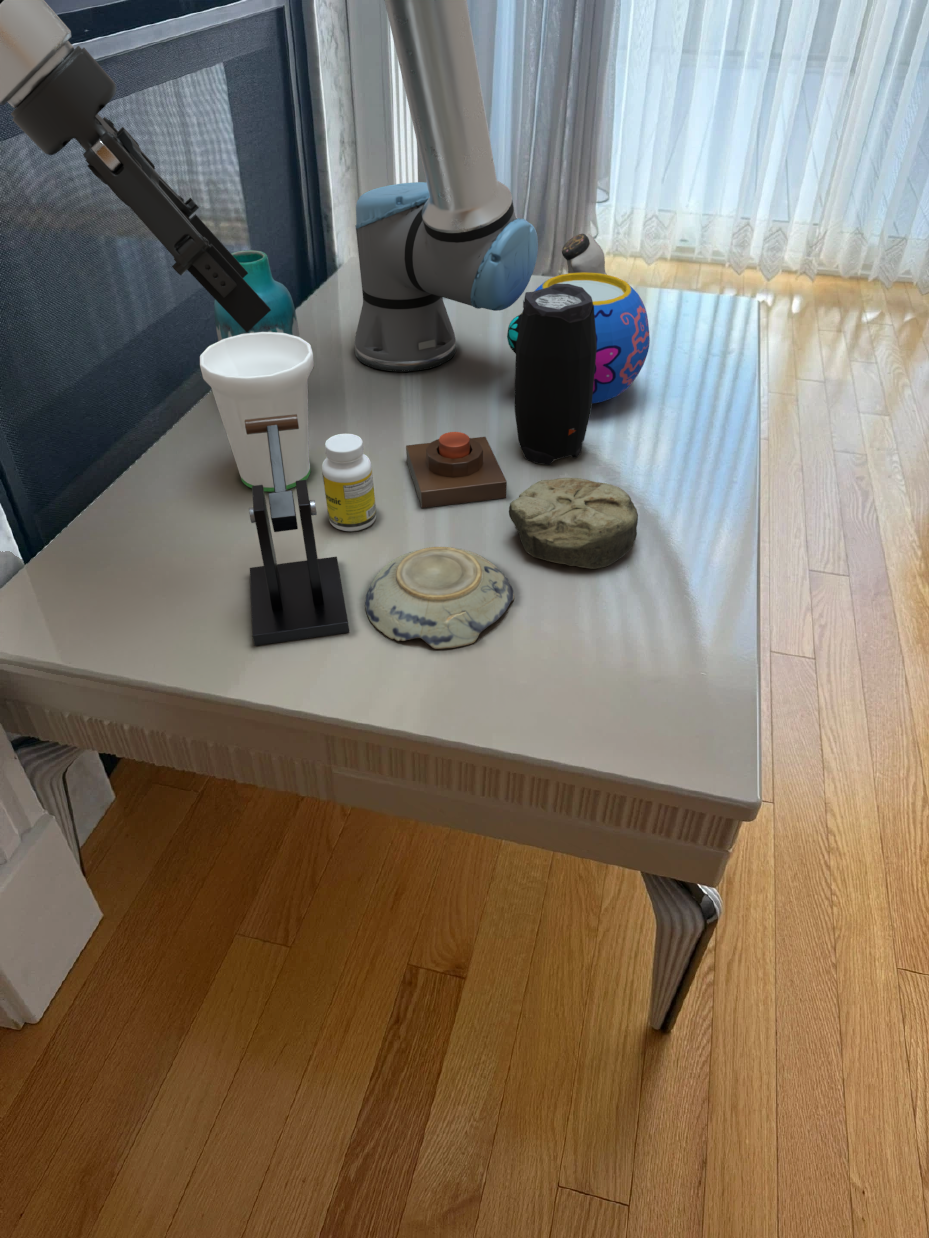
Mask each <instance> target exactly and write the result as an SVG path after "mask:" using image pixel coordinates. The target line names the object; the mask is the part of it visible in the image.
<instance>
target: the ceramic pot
mask: <svg viewBox="0 0 929 1238" xmlns="http://www.w3.org/2000/svg"><path fill="white" fill-rule="evenodd" d="M606 274H607V273H606ZM606 274H600V273H586V272H581V273H568V272H567V273H562V274H559V275H555V276H553V277H550V278H548V279H547V280H546V279H545V281H544V282H542V283H541V284H540V285H539V286H538V287H536V289H535V290H534V291H537V290H540V289H544V288H547V287H550V286H552V285H554V284H571V285H575V286H578V287H582V288H583V289H584V290H585V291H586V292H587V293H588V294H589V295H590V296H591V297H592V301H593V305H594V315H595V328H596V342H597V352H596V363H595V374H594V385H593V396H592V405H593V404H597V403H603V402H605V401H608V400H611V399H613V398H617V397H619V396H620V395H621V394H623V393H624V392H625V391H627V390H628V388H629V387H631V385H632V384H633V383H634V381H635V380H636V378H637V377H638V376H639V373H640V372H641V370H642V369H643V367H644V364H645V362H646V359H647V356H648V353H649V350H650V342H651V341H650V340H651V338H650V325H649V319H648V318H649V317H648V313H647V309H646V307H645V304H644V301H643V299H642V298H641V296H640V295H639V293H638V292H637V291H636V289H634V288H633V286H632V285H630V284H629V283H628V282H627V281H625V280H623V279H621V278H620V277H617V276H614V275H609V274H607V275H606ZM522 313H523V310H522V312H521V313H520V314H518V315H517V316H515V317H513V319H511V321H510V323H509V324H508V327H507V334H506V337H507V338H506V339H507V343H508V346H509V348H510V349H511V351H512V352H513V353H514V354H515V355H516V341H517V336H518V332H519V327H520V323H521V318H522Z"/></svg>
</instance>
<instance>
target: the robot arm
mask: <svg viewBox="0 0 929 1238" xmlns="http://www.w3.org/2000/svg"><path fill="white" fill-rule="evenodd" d="M383 1H384V4H385V9H386V13H387V17H388V22H389V26H390V30H391V34H392V39H393V43H394V47H395V53H396V58H397V61H398V65H399V71H400V72H401V78H402V83H403V87H404V91H405V96H406V101H407V104H408V105H407V106H408V109H409V112H410V117H411V122H412V127H413V130H414V135H415V139H416V143H417V148H418V152H419V157H420V160H421V165H422V169H423V174H424V178H425V182H424V181H415V182H403V183H401V182H400V183H395V184H390V185H384V186H381V187H377V188H373V189H371V190H368V191H366V192H364V193H362V194H361V195H360V196H359V197H358V199H357V200H356V204H355V220H356V221H355V223H356V224H355V234H356V243H357V252H358V261H359V262H358V263H359V272H360V282H361V291H362V306H361V310H360V314H359V318H358V323H357V327H356V331H355V335H354V354H355V358H357V360H358V361H359V362H361V364H364V365H365V366H367V367H370V368H373V369H375V370H376V369H377V370H380V371H386V372H399V373H401V372H402V373H403V372H405V373H406V372H407V373H408V372H418V371H424V370H428V369H432V368H436V367H438V366H441V365H443V364H445V363H446V362H448V361H449V360H451V359H452V358H453V357H454V355H455V354H456V352H457V338H456V335H455V331H454V328H453V325H452V322H451V320H450V316H449V314H448V311H447V308H446V306H445V302H444V299H447V300H451V301H453V302H457V303H460V304H463V305H468V306H470V307H473V308H474V309H477V310H479V309H480V310H481V309H485V310H490V311H495V312H498V311H499V312H500V311H503V310H506V309H508V308H509V307H511V306H512V305H513V304H515V303H516V302H517V301H518V300H519V298H521V296H522V295H523V294H524V292H525V290H526V289H527V287H528V285H529V284H530V280H531V278H532V276H533V273H534V270H535V269H536V264H537V259H538V252H539V238H538V234H537V231H536V228H535V226H534V225H533V224H532V223H530V222H529V221H527V220H526V219H525V218H520V217H517V216H516V213H515V207H514V201H513V195H512V192H511V190H510V188H509V187H508V186H507V185H505V183H502V182H500V181H499V180H498V178H497V173H496V167H495V161H494V155H493V154H494V153H493V148H492V142H491V137H490V136H491V135H490V130H489V124H488V119H487V113H486V112H487V111H486V107H485V101H484V95H483V89H482V83H481V76H480V71H479V64H478V58H477V53H476V47H475V41H474V36H473V35H474V34H473V29H472V23H471V18H470V17H471V15H470V11H469V5H468V0H383ZM71 38H72V31H71V29H70V28H69V27H68V26H67V25H66V23H65V22H64V21H63V20H62V19H61V18H60V17H59V16H58V15H57V13H56V12H55V10H54V9H52V8H51V7H50V5H49V4H48V3H47V2H46V1H45V0H0V106H5V105H6V104H9V105H10V107H12V108H14V109H13V110H12V112H11V113H10V116H12V117H13V118H12V121H13V122H14V123H15V124H16V125H17V127H19V129H21V130H22V132H23V133H24V134H25V135H26V136H27V137H28V138H29V139H30V140H31V141H32V142H33V143H34V144H35V145H36V146H37V147H38V148H39V149H40V150H41V151H42V152H43V153H44V154H46V155H48V156H53V155H56V154H58V153H60V151H62V149H64V148H65V147H66V146H67V145H68V144H69V143H70V142H71V141H72V140H73V139H74V140H75V141H76V142H77V143H78V144H79V145H80V146H81V148H83V150H84V151H85V152H84V153H82V155H83V158H84V159H85V162H86V163H87V165H86V166H87V167H88V169H89V170H90V172H92V174H93V175H94V176H95V177H96V178H97V179H98V180H100V181H101V182H102V183H103V184H105V185H107V186H108V187H109V189H110V190H111V191H112V192H113V194H115V196H116V197H117V198H118V199H119V200H120V201H121V202H122V203H123V204H125V205H126V206H127V207H129V208H130V209H131V210H132V212H133V213H134V214H135V215H136V216H137V217H138V219H140V220H141V222H142V223H143V224H144V225H145V226H146V228H147V229H148V230H149V231H150V232H151V233H152V234H153V235H154V237H155V238H156V239H157V240H158V241H159V242H160V243H161V245H162V246H163V247H164V248H165V249H166V250H167V251H168V253H169V254H170V255H171V256H172V257H173V261H174V262H175V263H174V264H173V265H172V266H171V268H172V269H173V270H174V271H175V272H176V273H177V274H178V275H179V276H183V275H184V274H185V272H187V271H188V273H190V274H191V276H192V277H193V278H194V279H195V280H196V281H197V282H198V283H199V284H200V286H202V287H203V288H204V289H205V291H207V293H209V295H210V296H211V297H213V299H214V301H215V300H216V301H217V302H218V303H219V304H220V305H221V306H222V307H223V308H224V309H225V310H226V311H227V312H228V313H229V314H230V315H231V317H232V318H233V319H234V320H235V321H236V322H237V323H238V324H239V325H240V326H241V327H242V328H243V329H244V330H245V331H246V332H248V331H249V330H250V329H251V328H252V327H253V326H255V325H256V324H257V323H258V322H259V321H260V320H261V319H262V318H263V317H264V316H265V315H266V314H267V313H269V312H270V311H271V309H270V308H269V307H268V305H267V304H266V303H265V302H264V301H263V300H262V299H261V298H260V297H259V296H258V294H257V293H256V292H255V291H254V290H253V289H252V288H251V287H250V286H249V285H248V283H247V282H246V281H245V280H244V279H243V278H244V277H245V276H246V275H247V274H248V272H247V271H246V270H245V269H244V268H243V266H242V265H241V264H240V263H239V262H238V261H237V260H236V259H235V258H234V256H233V255H232V254H231V253H232V252H230V251H229V249H228V248H227V247H226V246H225V245H224V244H223V243H222V242H221V241H220V239H218V238H217V236H216V235H215V234H214V233H213V232H212V231H211V230H210V228H209V227H208V226H207V225H206V224H205V222H203V221H202V219H201V218H200V217H199V216H198V215H197V214H196V212H197V211H198V209H199V208H200V206H199V205H198V204H197V203H196V202H195V201H194V200H193V199H192V197H189V198H188V199H187V200H186V201H185V199H184V198H183V197H182V196H181V195H179V194H178V193H177V192H176V191H175V190H174V189H173V188H172V187H171V186H170V185H169V184H168V183H167V182H166V181H165V180H164V178H162V176H161V175H160V174H159V173H158V172H157V170H155V169H156V166H155V164H154V163H153V162H152V160H150V158H149V157H148V156H147V155H146V153H144V151H143V150H142V149H141V147H140V144H139V143H138V142H137V140H136V139H135V138H134V137H133V136H132V135H131V133H130V132H129V131H128V129H127V130H126V128H125V127H124V126H122V127H120V128H119V130H118V129H117V128H116V127H115V124H114V122H113V121H112V120H111V119H108V118H107V117H105V116H104V117H102V116H101V115H99V113H100V112H101V111H102V110H103V109H104V108H105V107H106V106H107V105H108V103H109V102H110V101H111V100H112V99H113V98H114V96H115V95H116V93H117V85H116V83H115V81H114V80H113V79H112V78H111V77H110V75H109V74H108V73H107V72H106V71H105V70H104V69H103V68H102V66H101V65H100V64H99V63H98V61H97V60H96V59H95V58H94V57H93V56H92V55H91V54H90V52H89V51H88V50H87V49H86V48H85V47H83V48H81V46H80V45H77V46H76V47H75V46H74V45H72V43H71V42H70V41H69V40H70V39H71ZM194 213H195V214H194ZM192 215H193V216H192ZM443 298H444V299H443Z"/></svg>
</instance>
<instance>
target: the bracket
mask: <svg viewBox="0 0 929 1238" xmlns="http://www.w3.org/2000/svg"><path fill="white" fill-rule="evenodd" d="M295 488H296V496H297V504H298V511H299V518H300V524H301V531H302V537H303V544H304V550H305V556H306V560H298V561H292V562H284V563H278V562H277V561H278V560H277V557H276V556H277V555H276V551H275V550H276V549H275V545H274V539H273V534H272V527H271V522H270V517H269V512H268V505H267V501H266V500H267V499H266V495H265V491H264V489H263V485H255V486H252V488H251V494H252V495H251V496H252V507H249V508H248V513H249V519H250V523H251V524H255V528H256V532H257V538H258V543H259V548H260V549H259V550H260V554H261V558H262V564H263V565H260V566H251V567H249V584H250V585H249V588H250V589H249V590H250V611H251V631H252V633H251V634H252V635H251V636H252V640H253V646H255V647H258V646H265V645H273V644H278V643H285V642H293V641H300V640H307V639H313V638H320V637H327V636H328V637H329V636H335V635H342V634H349V633H350V625H349V619H348V613H347V607H346V602H345V597H344V589H343V584H342V578H341V573H340V572H341V571H340V567H339V561H338V557H337V556H329V557H321V558H318V552H317V545H316V544H317V543H316V538H315V530H314V523H313V517H312V516H317V505H316V500H315V499H310V496H309V489H308V481H307V480H299V481H296V487H295Z"/></svg>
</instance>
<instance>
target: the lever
mask: <svg viewBox="0 0 929 1238" xmlns="http://www.w3.org/2000/svg"><path fill="white" fill-rule="evenodd" d="M245 428H246V433H247V435H249V434H258V433H267V437H268V445H269V453H270V461H271V469H272V477H273V485H274V492H267V493H268V494H267V497H268V503H269V504H268V505H269V513H270V520H271V524H272V525H271V526H272V529H273V532H274V533H280V532H287V531H296V530H299V527H298V526H299V525H298V518H297V512H296V504H295V498H294V493H293V490H288V489H287V490H286V482H285V474H284V467H283V459H282V452H281V444H280V436H279V431H286V430H295V429H299V425H298V418H297V414H292V415H283V416H273V417H264V418H254V419H245Z"/></svg>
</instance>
